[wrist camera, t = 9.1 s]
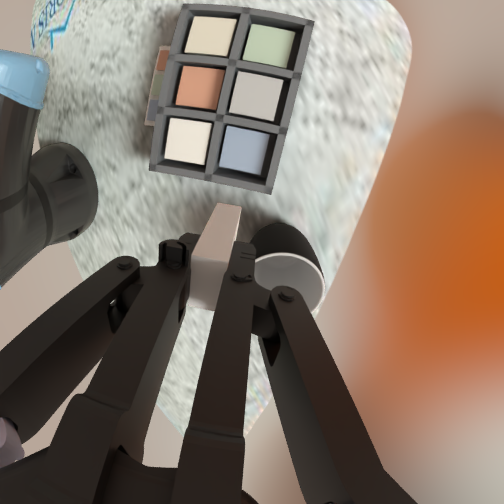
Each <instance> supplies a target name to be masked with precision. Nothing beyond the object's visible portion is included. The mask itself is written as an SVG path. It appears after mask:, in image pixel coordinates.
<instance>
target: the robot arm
mask: <svg viewBox="0 0 504 504" xmlns="http://www.w3.org/2000/svg"><path fill="white" fill-rule="evenodd" d="M49 74H50V69H49V65H48V63H47V62H46V61H45V60H44V59H43V58H40V57H36V56H32V55H28V54H23V53H18V52H12V51H7V50H0V289H1V287H2V286H3V285H4V284H5V283H6V282H7V281H8V280H10V279H11V278H12V276H14V275H15V274H16V273H17V272H18V271H19V270H20V269H21V268H22V267H23V266H24V265H26V264H27V263H28V262H29V261H30V260H31V259H32V258H33V257H34V256H36V255H37V254H38V253H39V252H40V251H41V250H42V249H44V248H45V247H46V246H49V245H52V244H57V243H60V242H65V241H69V240H72V239H74V238H76V237H78V236H79V235H80V234H81V233H83V232H84V231H85V230H86V229H87V228H88V227H89V226H90V225H91V223H92V222H93V220H94V218H95V215H96V212H97V206H98V188H97V182H96V178H95V175H94V172H93V170H92V167H91V165H90V164H89V162H88V160H87V159H86V157H85V156H84V155H83V154H82V153H81V152H80V151H79V150H78V149H77V148H75V147H74V146H72V145H70V144H66V143H55V144H52V145H48V146H45V147H43V148H41V149H40V150H38V151H37V152H36V153H35V154H33V155H32V148H33V142H34V136H35V132H36V127H37V122H38V118H39V114H40V110H41V109H43V106H44V103H43V99H44V94H45V90H46V86H47V82H48V78H49ZM241 208H242V207H240V206H234V205H229V204H223V203H217V205H216V207H215V209H214V211H213V213H212V215H211V217H210V219H209V220H208V222H207V224H206V226H205V228H204V230H203V232H202V234H201V235H197V234H192V233H186V234H184V235H182V236H181V237H180V238H179V240H174V239H171V240H165V241H162V242H161V243H160V244H159V261H158V263H157V265H156V266H149V267H148V266H140V262H139V261H138V259H136V258H134V257H131V256H121V257H117V258H115V259H113V260H112V261H110V262H109V263H108V264H106V265H105V266H103V267H102V268H101V269H99V270H98V271H97V272H95V273H94V274H93V275H91V276H90V277H89V278H87V279H86V280H85V281H83V282H82V283H81V284H79V285H78V286H77V287H75V288H74V289H73V290H71V291H70V292H69V293H68V294H66V295H65V296H64V297H63V298H61V299H60V300H59V301H58V302H56V303H55V304H54V305H53V306H51V307H50V308H49V309H48V310H47V311H45V312H44V313H43V314H42V315H41V316H40V317H38V318H37V319H36V320H35V321H33V322H32V323H31V324H30V325H29V326H28V327H26V328H25V329H24V330H23V331H22V332H21V333H20V334H19V335H17V336H16V337H15V338H14V339H13V340H12V341H11V342H10V343H9V344H7V345H6V346H5V347H4V348H3V349H2V350H1V351H0V504H258V503H257V501H256V500H254V499H253V498H252V497H251V496H250V495H249V494H248V493H246V492H245V491H244V490H242V479H243V466H244V454H245V439H244V437H243V427H244V415H245V404H246V392H247V380H248V367H249V355H250V343H251V333H252V334H255V335H257V336H258V342H259V345H260V349H261V353H262V356H263V360H264V364H265V367H266V371H267V374H268V378H269V382H270V385H271V389H272V392H273V396H274V399H275V403H276V407H277V410H278V414H279V417H280V420H281V424H282V427H283V431H284V434H285V438H286V441H287V445H288V448H289V452H290V455H291V458H292V462H293V465H294V468H295V472H296V475H297V478H298V481H299V485H300V488H301V491H302V494H303V496H304V499H305V501H306V503H307V504H417V503H416V502H415V501H414V500H413V499H412V498H411V497H410V496H409V495H408V494H407V493H406V492H405V491H404V490H403V489H402V488H401V487H400V486H399V485H398V483H397V482H396V481H395V480H394V479H393V478H392V477H390V475H389V474H387V472H386V471H385V470H384V469H383V466H382V464H381V462H380V459H379V457H378V455H377V453H376V450H375V448H374V446H373V444H372V441H371V439H370V437H369V435H368V432H367V430H366V428H365V426H364V423H363V421H362V419H361V417H360V415H359V413H358V411H357V408H356V406H355V404H354V402H353V400H352V397H351V395H350V393H349V391H348V389H347V387H346V385H345V383H344V380H343V378H342V376H341V374H340V372H339V370H338V368H337V366H336V364H335V361H334V359H333V357H332V355H331V353H330V351H329V349H328V347H327V345H326V343H325V341H324V339H323V337H322V335H321V333H320V331H319V329H318V327H317V325H316V323H315V320H314V318H313V316H312V314H311V312H310V310H309V308H308V306H307V304H306V302H305V300H304V298H303V296H302V295H301V294H300V292H299V291H297V290H296V289H294V288H292V287H289V286H283V285H282V286H276V287H274V288H273V289H272V291H271V290H268V289H266V288H264V287H262V286H260V285H259V284H258V283H257V282H256V281H255V276H254V272H255V259H256V248H255V247H254V245H253V244H249V243H244V242H238V241H236V236H237V230H238V225H239V219H240V214H241ZM113 300H114V302H113V303H111V302H112V301H113ZM187 300H188V306H191V307H196V308H201V309H206V310H211V311H215V312H214V316H213V320H212V325H211V329H210V333H209V337H208V341H207V345H206V350H205V354H204V358H203V362H202V367H201V371H200V375H199V380H198V384H197V389H196V393H195V398H194V402H193V407H192V411H191V416H190V420H189V424H188V427H187V429H186V432H185V435H184V439H183V444H182V449H181V453H180V459H179V463H178V468H161V467H148V466H145V465H143V464H142V461H143V454H144V441H145V437H146V434H147V430H148V427H149V424H150V420H151V416H152V413H153V410H154V407H155V404H156V400H157V397H158V394H159V391H160V387H161V384H162V381H163V378H164V375H165V372H166V369H167V366H168V363H169V360H170V357H171V354H172V351H173V348H174V345H175V342H176V339H177V336H178V333H179V330H180V327H181V324H182V322H183V319H184V316H185V312H186V303H187ZM110 303H111V304H110ZM102 357H103V358H102ZM101 358H102V360H101V362H100V364H99V366H98V368H97V370H96V372H95V374H94V376H93V378H92V380H91V382H90V384H89V386H88V388H87V390H86V391H85V392H84V393H83V394H76V395H75V396H73V398H72V399H71V400H70V402H69V404H68V406H67V408H66V410H65V412H64V414H63V416H62V419H61V421H60V423H59V426H58V428H57V430H56V432H55V435H54V437H53V439H52V442H51V444H50V446H48V447H46V448H44V449H42V450H40V451H38V452H36V453H34V454H32V455H30V456H28V457H25V458H23V457H24V450H23V448H22V446H21V444H23V443H25V442H26V441H28V440H29V439H30V438H31V437H33V436H34V435H35V434H36V433H37V432H38V431H39V430H40V429H41V428H42V427H43V426H44V425H45V423H46V422H47V421H48V420H49V419H50V417H51V416H52V415H53V414H54V413H55V411H56V410H57V409H58V408H59V407H60V405H61V404H62V403H63V402H64V401H65V399H66V398H67V397H68V396H69V395H70V394H71V393H72V391H73V390H74V389H75V388H76V387H77V386H78V384H79V383H80V382H81V381H82V380H83V379H84V378H85V376H86V375H87V374H88V373H89V372H90V371H91V370H92V369H93V367H94V366H95V365H96V364H97V363H98V362H99V361H100V359H101ZM15 460H18V461H16V462H15Z"/></svg>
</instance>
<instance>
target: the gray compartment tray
mask: <svg viewBox="0 0 504 504" xmlns="http://www.w3.org/2000/svg"><path fill="white" fill-rule="evenodd" d="M194 16H197V17H215V18H227V19H236V20H237V21H238V27H237V31H236V34H235V38H234V42H233V45H232V49H231V53H230V57H229V59H227V58H219V57H210V56H199V55H188V54H187V53H185V48H186V45H187V41H188V37H189V34H190V30H191V27H192V23H193V20H194ZM314 22H315V21H312V20H308V19H304V18H300V17H296V16H291V15H287V14H282V13H277V12H272V11H266V10H260V9H253V8H246V7H237V6H227V5H213V4H183V6H182V9H181V12H180V15H179V19H178V22H177V25H176V29H175V32H174V36H173V39H172V43H171V46H160V48H159V52H158V56H157V60H156V65H155V69H154V74H153V78H152V83H151V88H150V94H149V99H148V105H147V111H146V117H145V123H144V125H148V126H154V132H153V139H152V147H151V155H150V163H149V171H155V172H161V173H167V174H172V175H178V176H184V177H189V178H194V179H200V180H205V181H210V182H215V183H220V184H225V185H229V186H234V187H239V188H243V189H248V190H252V191H257V192H261V193H265V194H270V195H271V193H272V189H273V185H274V181H275V178H276V174H277V170H278V166H279V162H280V158H281V154H282V150H283V146H284V142H285V138H286V134H287V130H288V126H289V122H290V118H291V114H292V110H293V106H294V102H295V98H296V94H297V90H298V86H299V82H300V78H301V74H302V70H303V66H304V62H305V58H306V54H307V50H308V46H309V42H310V38H311V34H312V30H313V26H314ZM252 24H256V25H262V26H268V27H273V28H278V29H283V30H287V31H292V32H295V36H294V40H293V44H292V47H291V51H290V55H289V59H288V63H287V67H286V69H282V68H278V67H273V66H268V65H263V64H258V63H253V62H247V61H243V56H244V52H245V48H246V44H247V40H248V37H249V33H250V29H251V26H252ZM184 66H191V67H202V68H211V69H219V70H225V71H226V73H225V77H224V82H223V86H222V90H221V95H220V99H219V104H218V108H217V110H213V109H207V108H199V107H192V106H183V105H176V99H177V94H178V90H179V85H180V80H181V76H182V71H183V67H184ZM170 118H184V119H192V120H199V121H205V122H212V123H214V128H213V133H212V138H211V143H210V148H209V154H208V159H207V163H206V164H205V165H201V164H196V163H190V162H184V161H178V160H172V159H166V158H165V150H166V143H167V137H168V130H169V124H170ZM229 125H231V126H237V127H242V128H247V129H252V130H256V131H261V132H265V133H270V137H269V141H268V145H267V149H266V153H265V157H264V161H263V166H262V170H261V174H260V175H258V174H254V173H249V172H244V171H240V170H235V169H230V168H225V167H220V166H219V164H220V159H221V154H222V149H223V144H224V139H225V134H226V129H227V126H229Z"/></svg>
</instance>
